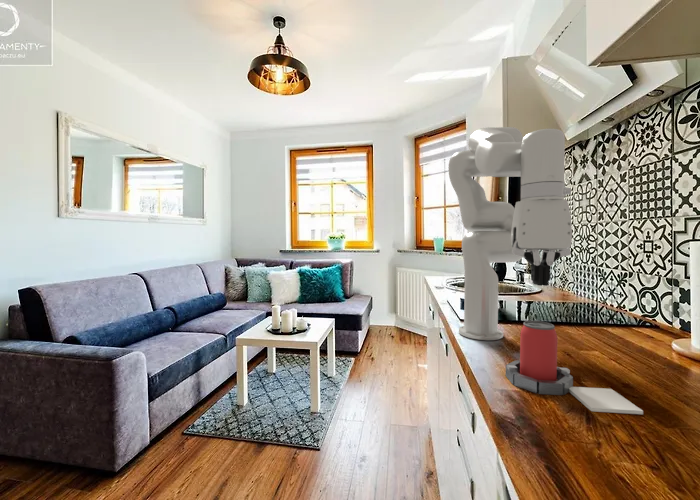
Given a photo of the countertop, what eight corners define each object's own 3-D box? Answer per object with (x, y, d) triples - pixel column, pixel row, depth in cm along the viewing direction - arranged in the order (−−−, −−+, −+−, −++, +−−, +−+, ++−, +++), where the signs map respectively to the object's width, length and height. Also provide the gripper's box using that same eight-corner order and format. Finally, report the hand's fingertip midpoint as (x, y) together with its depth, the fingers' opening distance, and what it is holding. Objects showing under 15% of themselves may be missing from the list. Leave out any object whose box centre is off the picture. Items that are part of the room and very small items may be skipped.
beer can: (523, 372, 71) (524, 318, 71) (558, 380, 67) (559, 323, 67) (516, 382, 66) (517, 324, 66) (554, 392, 62) (555, 330, 61)
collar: (499, 369, 73) (499, 356, 73) (554, 371, 71) (554, 358, 71) (518, 392, 62) (518, 377, 62) (584, 396, 60) (584, 381, 60)
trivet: (566, 389, 63) (566, 386, 63) (611, 391, 62) (611, 388, 62) (591, 411, 55) (591, 407, 55) (643, 414, 54) (643, 410, 54)
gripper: (571, 195, 68) (569, 282, 68) (496, 197, 70) (495, 281, 70) (593, 190, 60) (591, 288, 61) (509, 192, 62) (508, 286, 63)
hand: (540, 284), depth 66 cm, fingers closed
